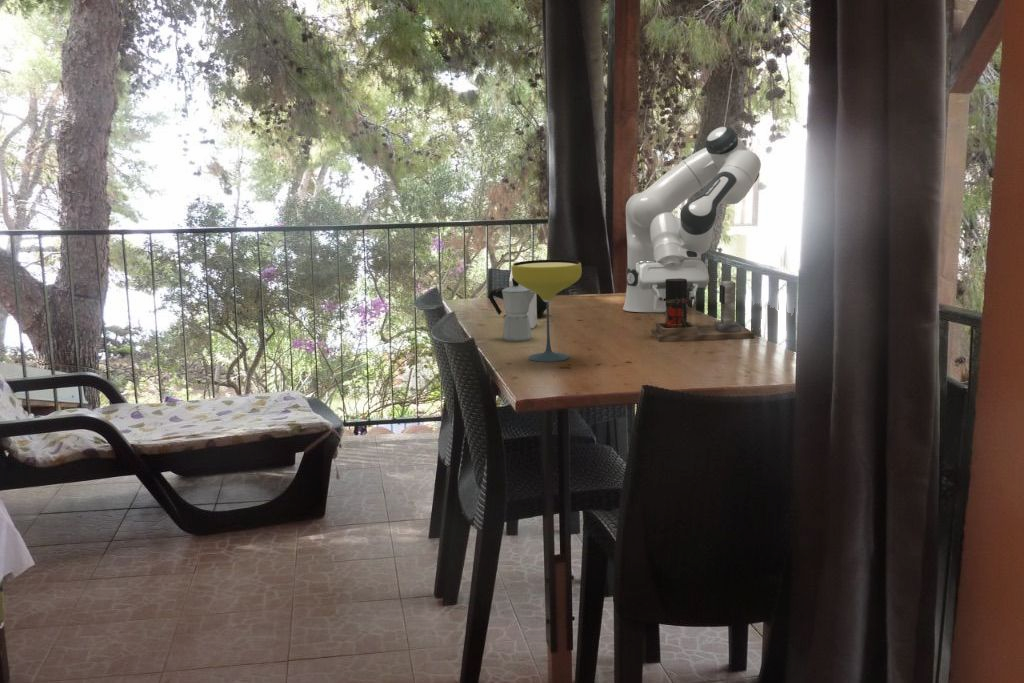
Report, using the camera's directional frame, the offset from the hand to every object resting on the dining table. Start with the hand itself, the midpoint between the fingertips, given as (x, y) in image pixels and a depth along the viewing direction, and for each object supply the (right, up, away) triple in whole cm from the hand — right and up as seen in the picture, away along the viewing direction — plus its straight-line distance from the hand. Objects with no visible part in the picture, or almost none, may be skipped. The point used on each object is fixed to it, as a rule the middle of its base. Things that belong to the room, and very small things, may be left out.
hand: (676, 298), depth 275 cm
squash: (-42, -4, +47) cm, 63 cm away
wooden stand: (+8, -11, +3) cm, 14 cm away
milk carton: (-43, -8, +27) cm, 51 cm away
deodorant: (0, -10, +2) cm, 10 cm away
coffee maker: (-46, -12, +8) cm, 48 cm away
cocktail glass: (-37, -17, -20) cm, 45 cm away
